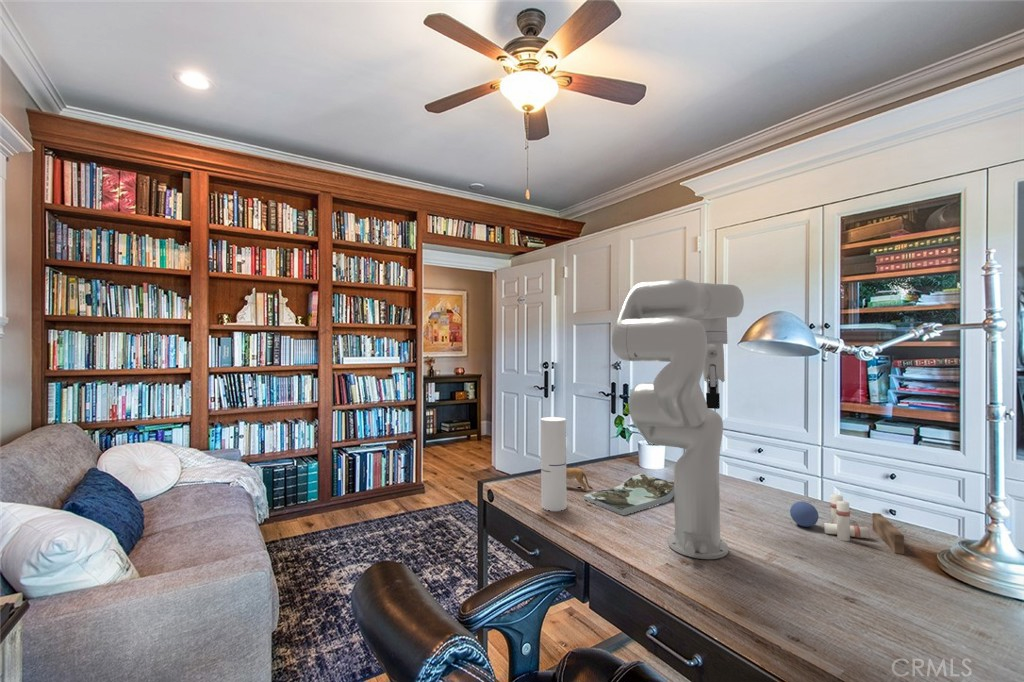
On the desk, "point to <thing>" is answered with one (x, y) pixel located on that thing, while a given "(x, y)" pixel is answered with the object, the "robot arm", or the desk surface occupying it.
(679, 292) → the robot arm
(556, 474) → the cylindrical container
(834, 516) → the rear pin far
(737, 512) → the desk surface
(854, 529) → the front pin
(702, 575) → the desk surface
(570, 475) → the lion figurine
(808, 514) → the ball
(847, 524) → the rear pin near
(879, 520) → the stopper rail
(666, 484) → the topographical model
